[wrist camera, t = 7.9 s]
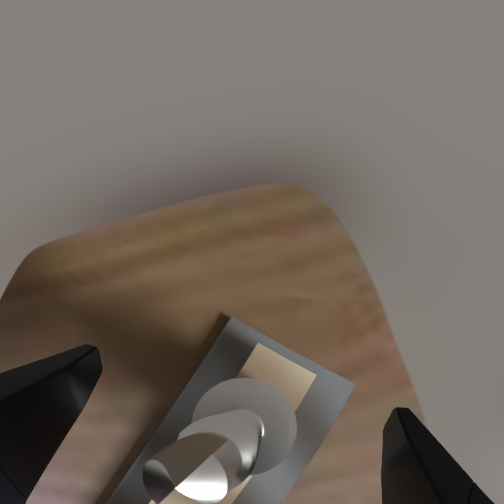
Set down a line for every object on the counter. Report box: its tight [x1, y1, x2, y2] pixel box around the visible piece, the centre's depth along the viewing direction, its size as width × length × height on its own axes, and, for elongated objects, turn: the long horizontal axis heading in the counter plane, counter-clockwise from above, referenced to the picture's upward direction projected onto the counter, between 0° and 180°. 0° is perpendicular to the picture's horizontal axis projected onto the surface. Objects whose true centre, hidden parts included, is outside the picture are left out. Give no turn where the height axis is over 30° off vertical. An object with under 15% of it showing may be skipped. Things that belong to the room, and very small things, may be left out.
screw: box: [142, 378, 297, 504], centre depth 9 cm, size 13×5×5 cm
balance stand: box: [105, 317, 355, 504], centre depth 15 cm, size 21×9×4 cm, turn 149°
